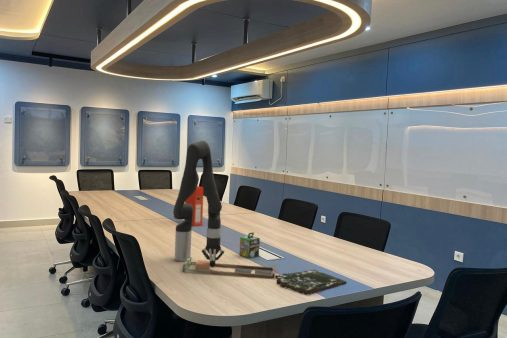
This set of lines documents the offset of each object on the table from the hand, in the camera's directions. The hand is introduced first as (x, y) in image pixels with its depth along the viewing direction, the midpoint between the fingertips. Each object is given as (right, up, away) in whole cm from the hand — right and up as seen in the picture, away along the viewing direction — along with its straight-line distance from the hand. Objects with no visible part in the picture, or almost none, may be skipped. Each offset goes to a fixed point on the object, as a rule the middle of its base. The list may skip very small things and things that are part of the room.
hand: (212, 267), depth 218 cm
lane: (+9, -2, -1) cm, 10 cm away
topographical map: (+50, -5, -12) cm, 52 cm away
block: (-5, -2, +1) cm, 6 cm away
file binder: (-29, +7, +118) cm, 122 cm away
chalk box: (+20, -1, +32) cm, 37 cm away
